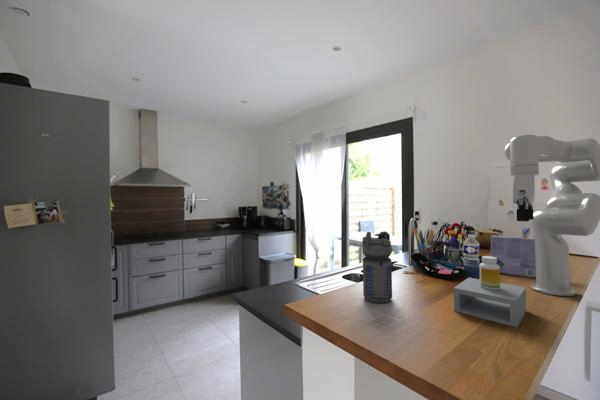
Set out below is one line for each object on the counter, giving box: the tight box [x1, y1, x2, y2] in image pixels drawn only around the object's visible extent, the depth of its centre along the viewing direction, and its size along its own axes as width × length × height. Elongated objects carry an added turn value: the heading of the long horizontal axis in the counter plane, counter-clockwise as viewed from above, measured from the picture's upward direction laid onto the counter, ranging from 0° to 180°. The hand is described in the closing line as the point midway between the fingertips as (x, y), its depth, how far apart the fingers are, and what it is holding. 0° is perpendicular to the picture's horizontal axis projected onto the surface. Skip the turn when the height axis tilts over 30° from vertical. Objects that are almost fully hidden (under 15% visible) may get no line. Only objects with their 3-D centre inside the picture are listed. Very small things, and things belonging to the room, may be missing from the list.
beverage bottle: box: [361, 231, 393, 304], centre depth 99 cm, size 10×13×25 cm
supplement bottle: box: [478, 255, 501, 290], centre depth 86 cm, size 5×5×10 cm
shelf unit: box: [453, 277, 527, 328], centre depth 86 cm, size 16×16×8 cm
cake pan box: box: [490, 235, 536, 278], centre depth 126 cm, size 19×5×18 cm, turn 49°
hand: (525, 220), depth 93 cm, fingers open, 9 cm apart
